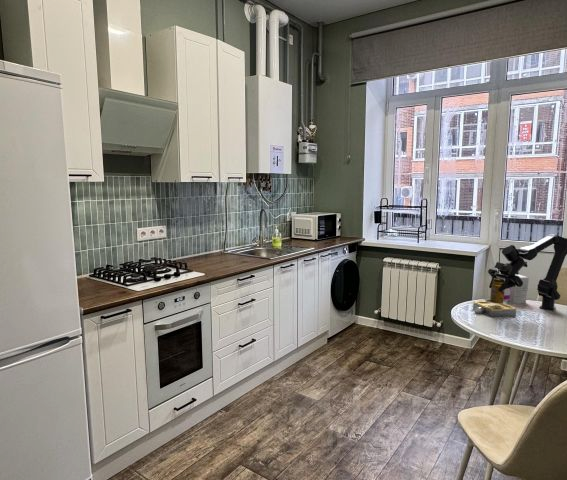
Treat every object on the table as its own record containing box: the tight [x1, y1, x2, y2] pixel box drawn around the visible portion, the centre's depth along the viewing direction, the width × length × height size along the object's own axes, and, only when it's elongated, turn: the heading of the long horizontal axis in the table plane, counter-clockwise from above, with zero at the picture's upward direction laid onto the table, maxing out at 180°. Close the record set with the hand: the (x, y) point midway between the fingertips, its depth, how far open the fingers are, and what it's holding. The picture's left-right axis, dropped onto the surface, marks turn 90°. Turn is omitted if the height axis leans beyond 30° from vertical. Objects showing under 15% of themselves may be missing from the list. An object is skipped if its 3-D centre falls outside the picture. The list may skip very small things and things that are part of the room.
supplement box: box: [509, 273, 530, 304], centre depth 228 cm, size 9×9×15 cm
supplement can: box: [500, 278, 511, 305], centre depth 224 cm, size 8×8×15 cm
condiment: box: [483, 278, 505, 304], centre depth 206 cm, size 7×8×12 cm
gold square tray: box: [472, 300, 517, 318], centre depth 206 cm, size 18×14×4 cm
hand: (494, 289), depth 205 cm, fingers closed on condiment, 6 cm apart
